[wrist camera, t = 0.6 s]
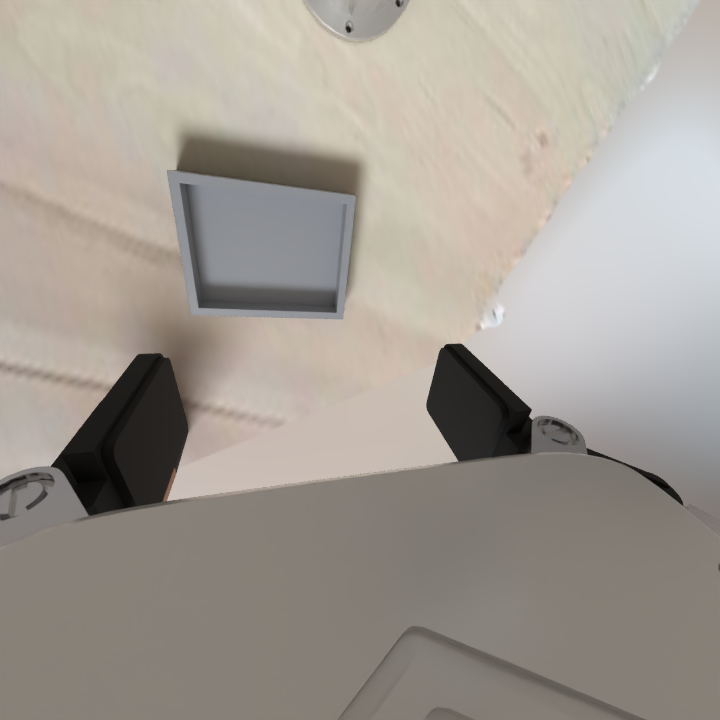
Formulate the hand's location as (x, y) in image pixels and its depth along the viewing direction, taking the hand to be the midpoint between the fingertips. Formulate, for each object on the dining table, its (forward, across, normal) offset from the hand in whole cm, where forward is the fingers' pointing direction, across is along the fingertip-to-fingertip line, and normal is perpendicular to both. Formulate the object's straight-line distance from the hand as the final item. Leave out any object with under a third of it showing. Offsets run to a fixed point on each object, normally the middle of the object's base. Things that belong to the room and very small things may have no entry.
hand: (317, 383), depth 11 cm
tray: (+35, +2, +3) cm, 35 cm away
